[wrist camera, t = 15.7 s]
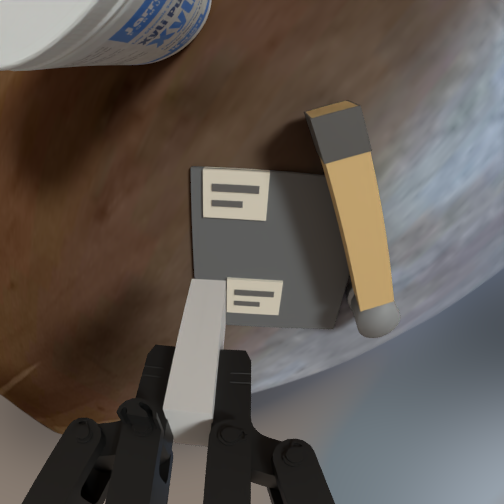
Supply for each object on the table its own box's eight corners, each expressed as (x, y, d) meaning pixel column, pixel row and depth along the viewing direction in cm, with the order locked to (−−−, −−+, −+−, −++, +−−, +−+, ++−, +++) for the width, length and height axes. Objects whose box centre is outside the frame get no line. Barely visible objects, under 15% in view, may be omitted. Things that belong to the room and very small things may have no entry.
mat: (198, 319, 33) (197, 322, 32) (191, 166, 24) (190, 167, 24) (332, 326, 33) (333, 329, 32) (369, 180, 24) (370, 181, 24)
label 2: (227, 307, 32) (226, 312, 31) (227, 274, 30) (226, 279, 29) (278, 310, 32) (278, 316, 31) (282, 278, 30) (283, 283, 29)
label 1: (204, 213, 26) (203, 217, 26) (204, 166, 24) (202, 169, 24) (265, 216, 26) (265, 221, 26) (269, 170, 24) (269, 173, 24)
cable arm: (298, 113, 21) (304, 120, 18) (352, 98, 20) (366, 104, 17) (353, 319, 30) (360, 343, 28) (391, 308, 30) (401, 331, 27)
